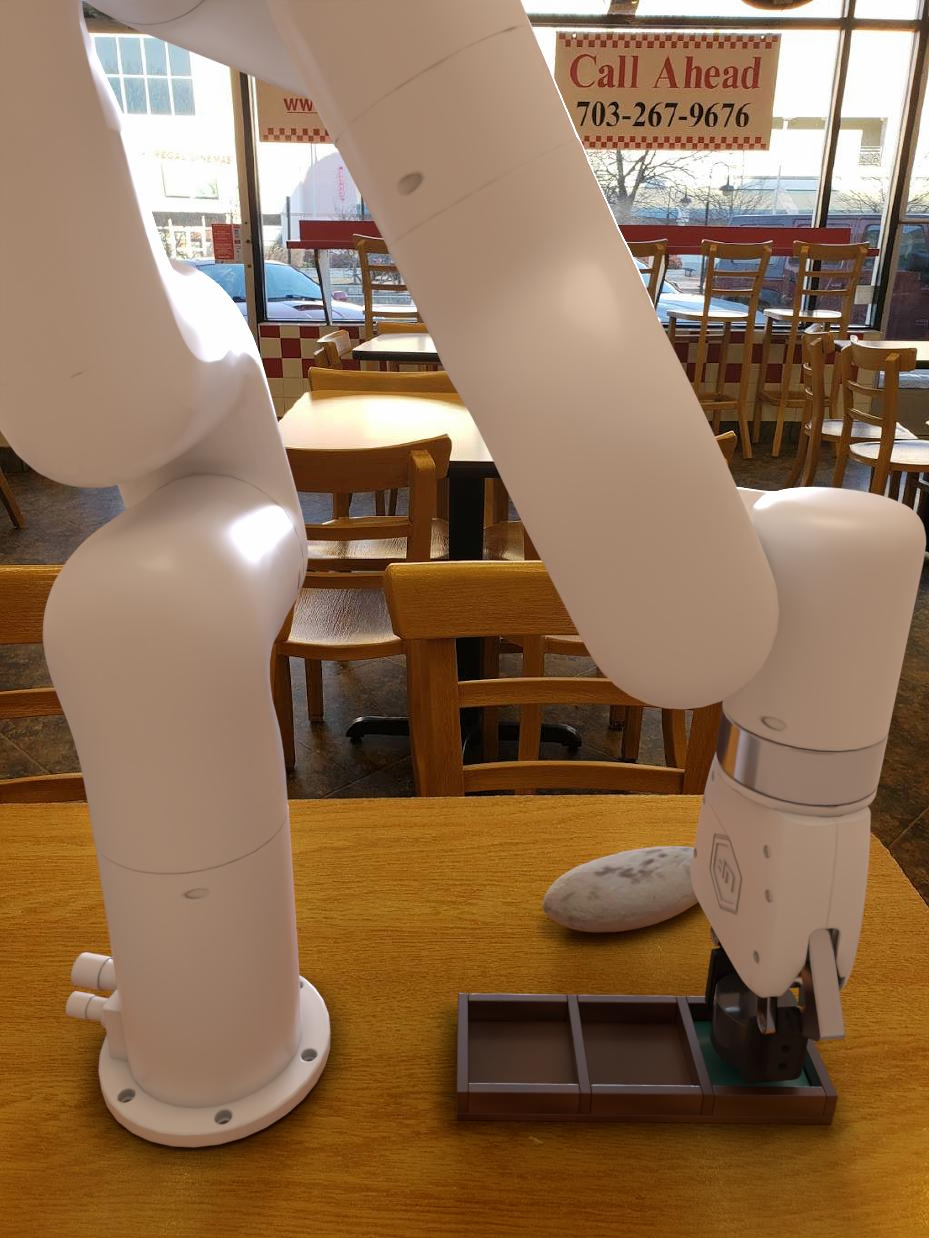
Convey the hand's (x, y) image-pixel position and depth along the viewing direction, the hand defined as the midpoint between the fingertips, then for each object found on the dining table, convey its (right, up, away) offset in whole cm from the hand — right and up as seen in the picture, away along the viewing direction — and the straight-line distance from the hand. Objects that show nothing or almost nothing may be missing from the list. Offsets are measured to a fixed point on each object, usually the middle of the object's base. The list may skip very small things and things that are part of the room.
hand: (750, 1037), depth 52 cm
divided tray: (-6, -2, +1) cm, 7 cm away
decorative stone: (-3, +3, +14) cm, 15 cm away
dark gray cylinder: (0, 0, 0) cm, 0 cm away
